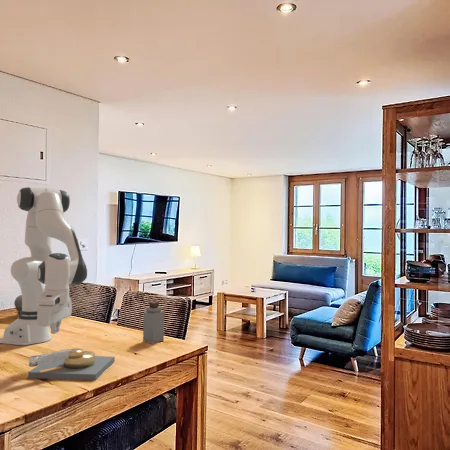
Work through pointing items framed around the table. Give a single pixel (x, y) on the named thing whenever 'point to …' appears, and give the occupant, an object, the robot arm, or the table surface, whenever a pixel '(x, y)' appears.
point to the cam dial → (65, 358)
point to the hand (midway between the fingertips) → (54, 332)
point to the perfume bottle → (153, 323)
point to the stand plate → (72, 370)
